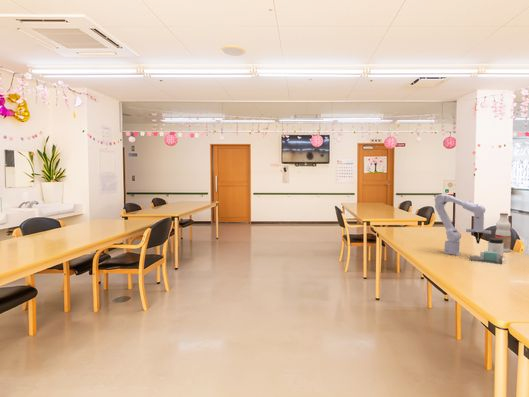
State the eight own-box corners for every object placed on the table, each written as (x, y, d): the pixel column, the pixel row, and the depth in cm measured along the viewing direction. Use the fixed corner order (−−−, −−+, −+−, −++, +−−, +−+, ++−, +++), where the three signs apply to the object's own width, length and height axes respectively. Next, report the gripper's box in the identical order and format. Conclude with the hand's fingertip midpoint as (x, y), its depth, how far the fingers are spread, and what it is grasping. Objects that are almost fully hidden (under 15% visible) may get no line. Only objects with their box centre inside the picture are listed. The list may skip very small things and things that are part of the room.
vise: (469, 260, 229) (469, 253, 229) (470, 257, 237) (470, 250, 237) (502, 264, 219) (502, 257, 219) (502, 260, 227) (502, 254, 227)
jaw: (480, 259, 227) (480, 254, 226) (480, 256, 233) (480, 251, 233) (483, 259, 225) (483, 254, 225) (484, 257, 232) (484, 252, 232)
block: (483, 259, 227) (484, 252, 227) (484, 258, 231) (484, 250, 230) (496, 261, 223) (496, 253, 223) (496, 259, 227) (496, 252, 226)
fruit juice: (507, 252, 249) (509, 214, 247) (492, 250, 256) (494, 213, 254) (511, 250, 255) (513, 213, 253) (497, 248, 262) (498, 212, 260)
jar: (498, 257, 235) (499, 240, 234) (486, 255, 242) (486, 238, 241) (504, 256, 240) (505, 239, 239) (491, 253, 247) (492, 237, 246)
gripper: (465, 223, 236) (465, 243, 237) (491, 225, 228) (490, 245, 229) (466, 222, 242) (466, 241, 243) (491, 223, 233) (490, 243, 234)
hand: (477, 243), depth 236 cm, fingers closed
